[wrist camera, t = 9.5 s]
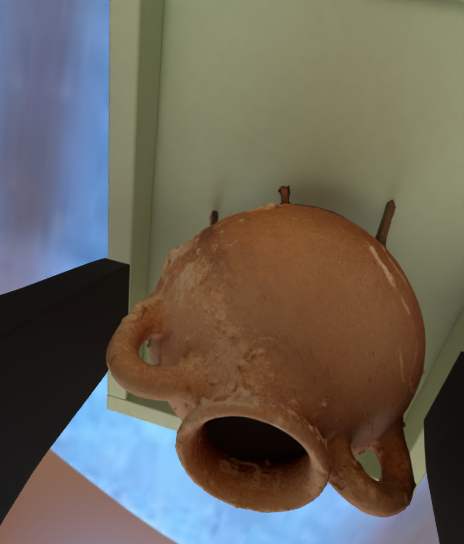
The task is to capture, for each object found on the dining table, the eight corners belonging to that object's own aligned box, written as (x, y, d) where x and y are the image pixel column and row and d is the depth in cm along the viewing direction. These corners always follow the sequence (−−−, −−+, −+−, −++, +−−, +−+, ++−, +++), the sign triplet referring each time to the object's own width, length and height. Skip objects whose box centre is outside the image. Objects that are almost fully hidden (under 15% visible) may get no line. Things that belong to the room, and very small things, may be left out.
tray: (402, 457, 17) (408, 504, 15) (129, 375, 19) (106, 409, 17) (657, -11, 9) (727, -23, 7) (147, -85, 11) (108, -108, 9)
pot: (410, 317, 14) (394, 120, 11) (459, 606, 8) (456, 330, 4) (239, 328, 16) (183, 164, 13) (163, 565, 10) (13, 353, 6)
